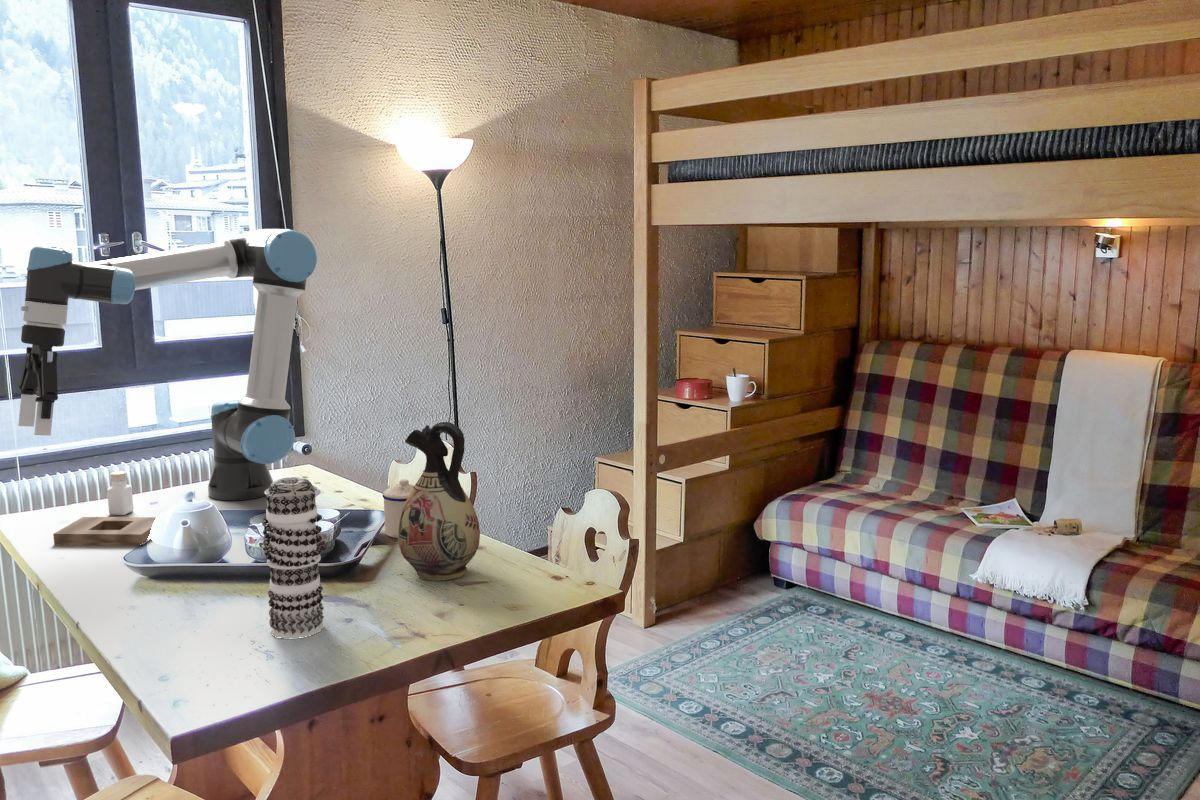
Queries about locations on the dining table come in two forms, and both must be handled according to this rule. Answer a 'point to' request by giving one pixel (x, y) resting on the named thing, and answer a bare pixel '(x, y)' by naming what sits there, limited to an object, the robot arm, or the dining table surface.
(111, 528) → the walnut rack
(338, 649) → the dining table surface
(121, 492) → the salt shaker
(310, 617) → the decorative candle
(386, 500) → the teacup with lid
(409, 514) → the ceramic jug
